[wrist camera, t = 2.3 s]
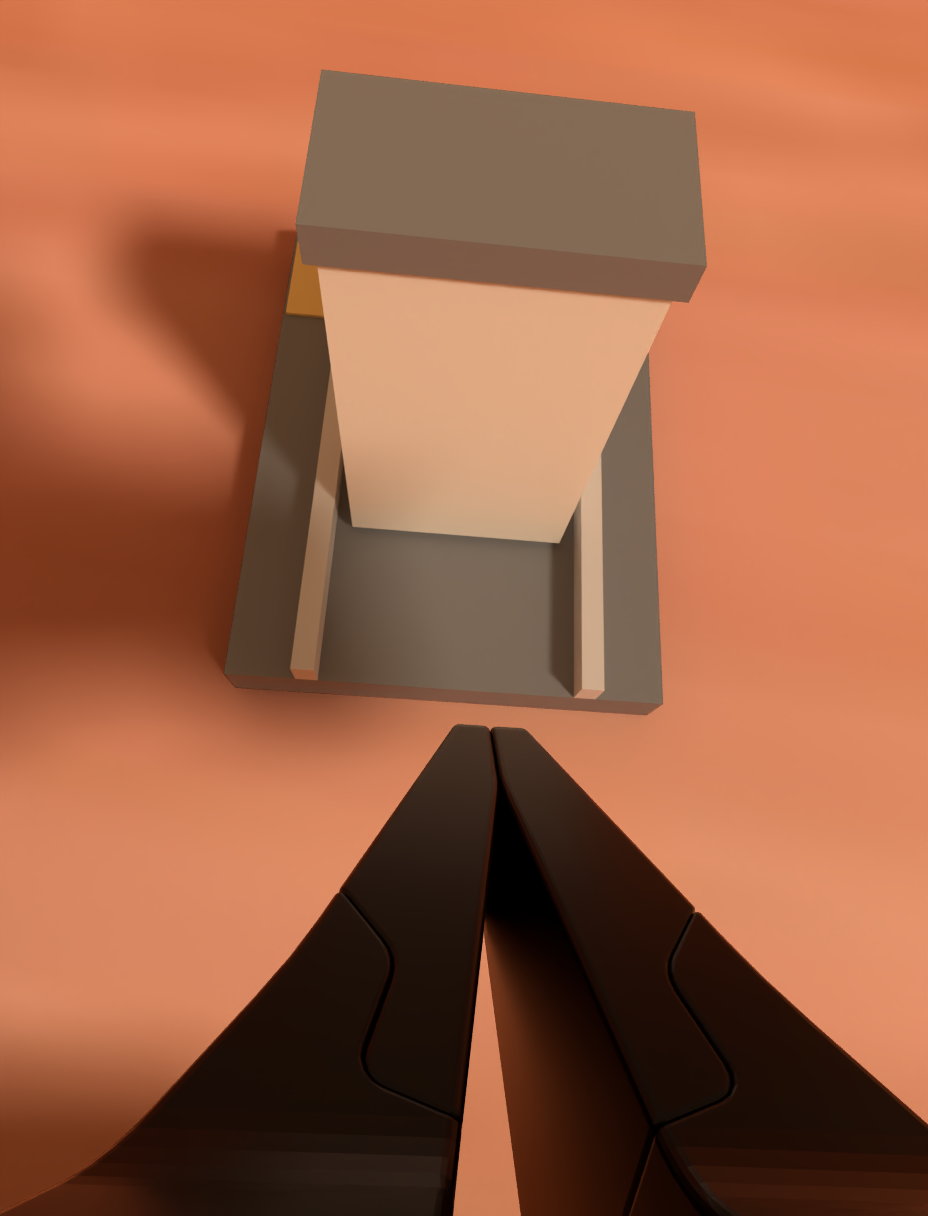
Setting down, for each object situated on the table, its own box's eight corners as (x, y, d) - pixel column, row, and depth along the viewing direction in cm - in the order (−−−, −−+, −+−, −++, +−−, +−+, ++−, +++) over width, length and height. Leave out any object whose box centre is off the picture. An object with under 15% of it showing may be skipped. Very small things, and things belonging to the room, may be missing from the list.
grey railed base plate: (646, 714, 22) (675, 695, 20) (235, 687, 22) (215, 663, 19) (632, 287, 28) (653, 232, 26) (304, 254, 27) (295, 194, 25)
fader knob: (566, 550, 22) (706, 265, 12) (344, 532, 22) (295, 224, 12) (566, 449, 23) (694, 112, 13) (356, 430, 23) (321, 69, 13)
